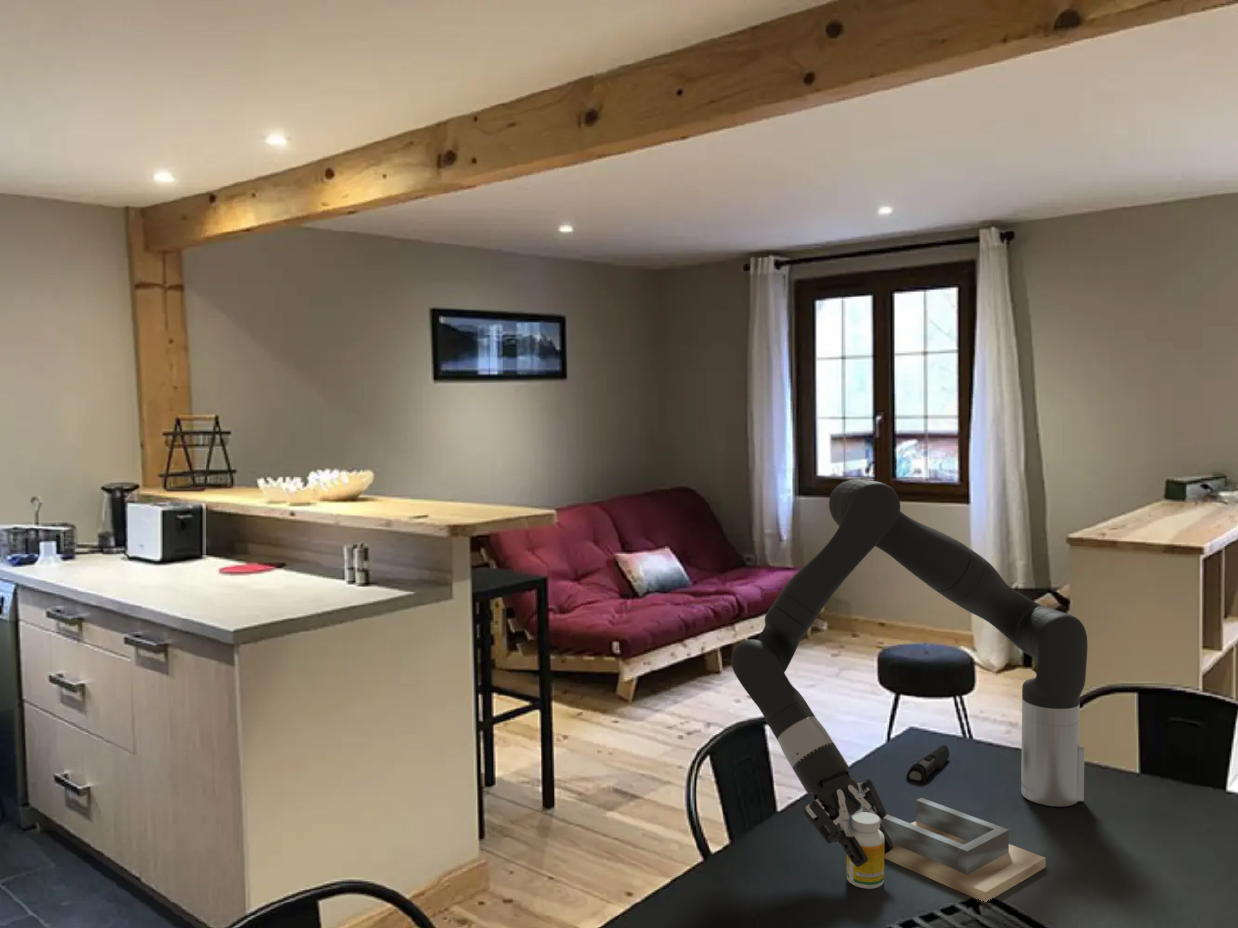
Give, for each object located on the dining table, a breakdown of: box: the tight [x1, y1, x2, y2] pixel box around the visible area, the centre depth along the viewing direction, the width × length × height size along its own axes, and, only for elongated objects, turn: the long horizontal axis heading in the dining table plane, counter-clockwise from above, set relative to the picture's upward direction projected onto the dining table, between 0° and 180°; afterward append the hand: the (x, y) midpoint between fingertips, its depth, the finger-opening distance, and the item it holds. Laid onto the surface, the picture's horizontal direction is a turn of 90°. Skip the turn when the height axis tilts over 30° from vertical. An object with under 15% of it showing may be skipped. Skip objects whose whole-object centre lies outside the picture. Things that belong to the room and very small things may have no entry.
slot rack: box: [881, 797, 1047, 903], centre depth 149 cm, size 20×16×5 cm
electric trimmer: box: [906, 744, 950, 785], centre depth 185 cm, size 4×16×3 cm, turn 141°
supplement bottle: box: [846, 812, 885, 890], centre depth 143 cm, size 5×5×10 cm
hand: (875, 857), depth 142 cm, fingers closed on supplement bottle, 5 cm apart
